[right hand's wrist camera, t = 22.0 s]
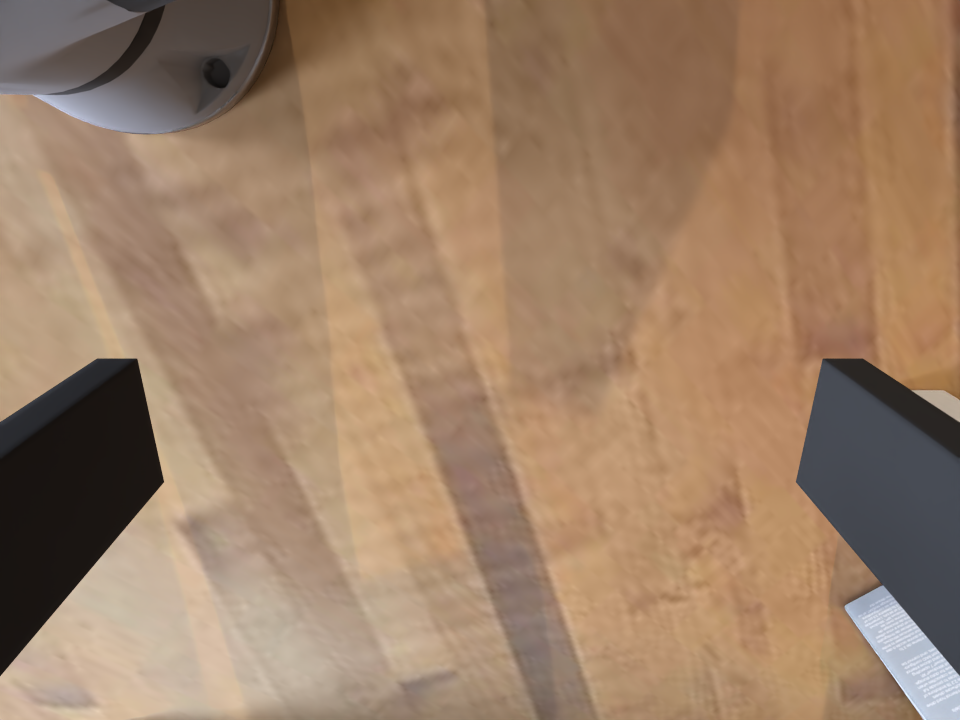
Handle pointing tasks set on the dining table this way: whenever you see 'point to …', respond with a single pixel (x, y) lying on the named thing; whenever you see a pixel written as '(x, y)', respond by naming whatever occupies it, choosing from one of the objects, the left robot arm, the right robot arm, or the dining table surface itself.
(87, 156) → the dining table surface
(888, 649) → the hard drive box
